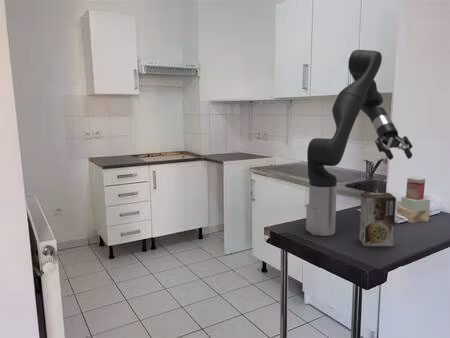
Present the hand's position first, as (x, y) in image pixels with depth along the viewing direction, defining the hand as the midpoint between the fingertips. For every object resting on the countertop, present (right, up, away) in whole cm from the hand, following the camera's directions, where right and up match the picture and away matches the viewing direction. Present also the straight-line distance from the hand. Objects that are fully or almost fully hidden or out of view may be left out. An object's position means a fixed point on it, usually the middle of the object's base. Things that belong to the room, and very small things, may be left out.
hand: (401, 158), depth 144 cm
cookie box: (-22, -29, -29) cm, 46 cm away
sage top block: (+3, -20, -6) cm, 21 cm away
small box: (+2, -16, -6) cm, 17 cm away
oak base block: (+2, -24, -5) cm, 25 cm away
